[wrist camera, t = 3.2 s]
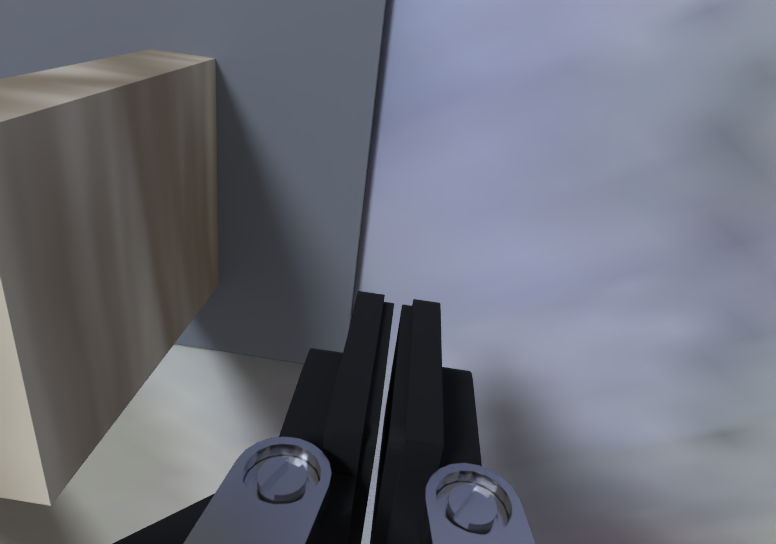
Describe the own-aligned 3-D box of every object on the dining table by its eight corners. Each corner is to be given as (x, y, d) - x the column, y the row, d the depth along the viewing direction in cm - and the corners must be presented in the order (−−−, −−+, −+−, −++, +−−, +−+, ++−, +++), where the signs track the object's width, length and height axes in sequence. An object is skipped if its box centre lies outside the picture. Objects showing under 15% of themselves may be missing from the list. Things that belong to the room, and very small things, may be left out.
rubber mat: (390, -29, 16) (388, -30, 16) (345, 364, 22) (343, 370, 22) (-282, -124, 16) (-299, -127, 16) (-137, 288, 23) (-146, 293, 22)
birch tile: (215, 58, 17) (-32, 131, 8) (218, 285, 21) (50, 505, 12) (146, 48, 17) (-174, 110, 8) (162, 276, 21) (-48, 489, 12)
